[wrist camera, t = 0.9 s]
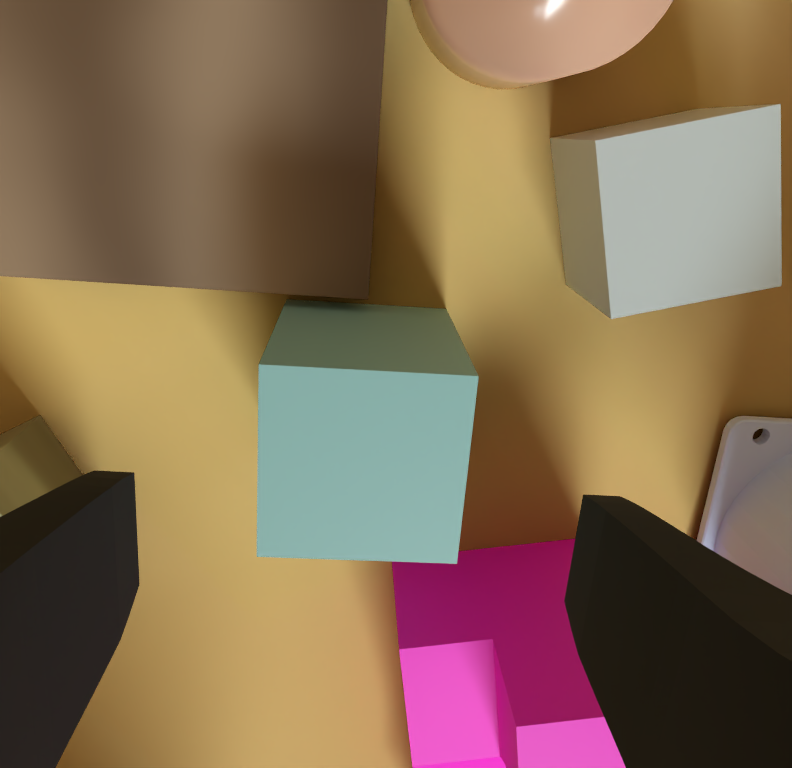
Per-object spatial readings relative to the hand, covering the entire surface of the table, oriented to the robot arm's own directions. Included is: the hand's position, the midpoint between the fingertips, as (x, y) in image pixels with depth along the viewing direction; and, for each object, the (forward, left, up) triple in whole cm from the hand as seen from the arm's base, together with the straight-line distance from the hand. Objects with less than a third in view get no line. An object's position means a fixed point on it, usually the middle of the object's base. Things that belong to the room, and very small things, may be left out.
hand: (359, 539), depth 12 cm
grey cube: (-7, -5, -10) cm, 13 cm away
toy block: (-6, +14, -10) cm, 18 cm away
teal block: (0, +1, -10) cm, 10 cm away
